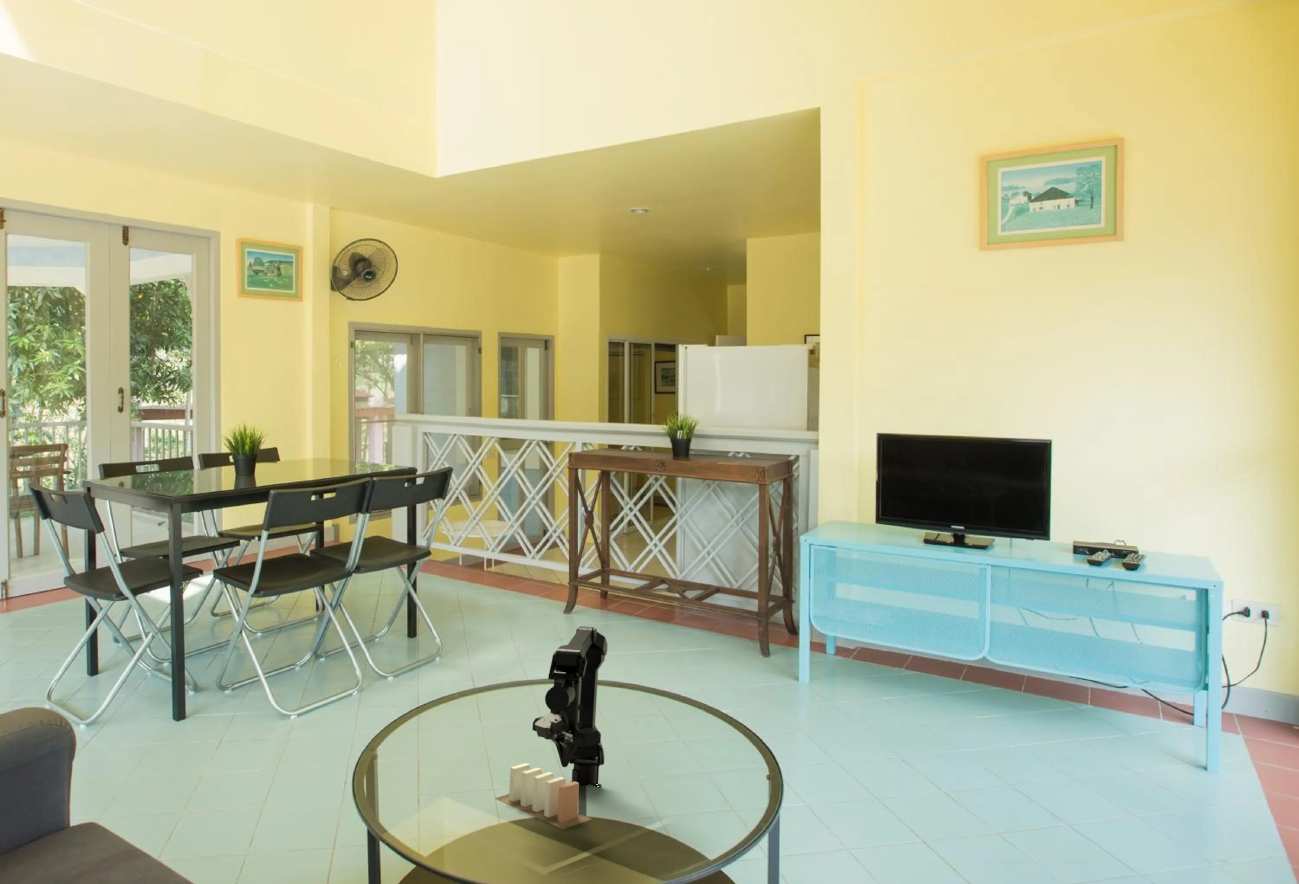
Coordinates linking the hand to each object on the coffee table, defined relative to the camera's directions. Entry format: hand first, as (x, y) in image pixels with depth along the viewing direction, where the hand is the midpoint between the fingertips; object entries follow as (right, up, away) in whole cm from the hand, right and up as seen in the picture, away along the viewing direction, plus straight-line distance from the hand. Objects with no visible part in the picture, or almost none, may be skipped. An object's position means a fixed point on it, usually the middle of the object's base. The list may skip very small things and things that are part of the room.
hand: (564, 766), depth 195 cm
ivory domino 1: (-13, -12, +10) cm, 20 cm away
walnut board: (-6, -13, +4) cm, 15 cm away
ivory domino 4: (-3, -12, +1) cm, 12 cm away
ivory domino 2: (-9, -12, +7) cm, 17 cm away
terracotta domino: (+1, -12, -2) cm, 12 cm away
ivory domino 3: (-6, -12, +4) cm, 14 cm away
